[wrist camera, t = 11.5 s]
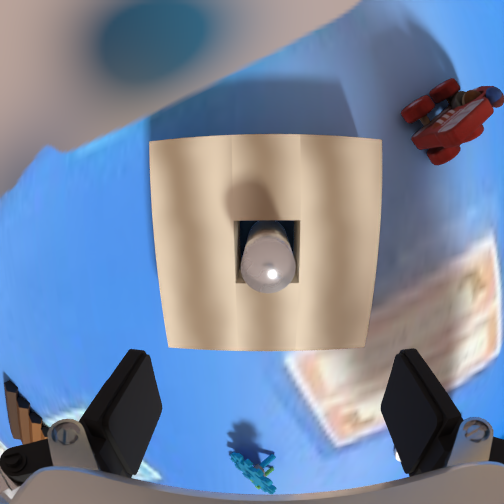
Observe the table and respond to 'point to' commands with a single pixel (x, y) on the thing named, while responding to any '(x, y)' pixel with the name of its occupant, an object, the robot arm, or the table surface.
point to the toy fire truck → (451, 118)
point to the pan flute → (23, 417)
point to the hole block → (266, 208)
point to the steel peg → (267, 258)
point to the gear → (255, 471)
